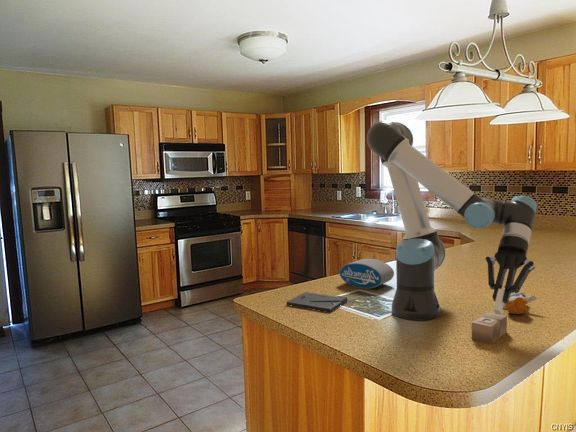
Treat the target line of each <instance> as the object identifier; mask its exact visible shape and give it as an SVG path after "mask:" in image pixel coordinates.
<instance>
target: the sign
mask: <svg viewBox="0 0 576 432" xmlns="http://www.w3.org/2000/svg"><path fill="white" fill-rule="evenodd" d="M338 274H339V276H340V279H342V280H343V281H344V282H345V283H346V284H348V285H350V286H352V287H355V288H358V289H359V288H361V289H364V288H365V289H375V288H378V287H380V286H382V285H383V284H385V283H387V282H390V281H391V280H392V279H393V278H394V276H395V270H394V269H393V268H392V267H391V265H389V264H388V263H386V262H385V261H381V260H380V259H375V258H362V259H358V260H355V261H353V262H350V263H346V264H345V265H343V266H342V267H340V268H339V273H338Z"/></svg>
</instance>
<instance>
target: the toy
mask: <svg viewBox="0 0 576 432" xmlns="http://www.w3.org/2000/svg"><path fill="white" fill-rule="evenodd" d="M536 300H538V297H537V296H536V295H534V294H532V295H530V296H526V294H525V292H524V291H519V292H518V293H511V294H510V297H509V301H508V303H504V305H503V309H504V308H506V309H505V310H506V311H507V313H509V314H514V315H522V314H524V313H525V312H527V313H528V314H529V313H530V312H529V309H528V306H527V305H528V304H529V303H531V302H535V301H536Z"/></svg>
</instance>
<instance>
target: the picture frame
mask: <svg viewBox="0 0 576 432" xmlns="http://www.w3.org/2000/svg"><path fill="white" fill-rule="evenodd" d="M347 301H348V297H347V296H341V295H335V296H334V295H330V294H321V293H314V292H308V291H307V292H306V291H305V292H302V293H300V294H299V295H297V296H295V297H293V298H291V299H289V300H288V301H286V306H287V305H292V306H291V307H293V306H298V307H297V308H299V307H303V308H302V309H305V308H310V309H309V310H311V309H315V310H314V311H317V310H320V311H319V312H323V311H326V312H325V313H329V312H331V313H333V312H334V311H336V310H337V309H339V308H340V307H341V306H340V305H342V304H343V305H344V303H345V302H346V303H347ZM348 302H349V301H348ZM346 303H345V304H346ZM343 305H342V306H343ZM339 306H340V307H339ZM338 307H339V308H338ZM336 308H337V309H336ZM335 309H336V310H335ZM333 310H334V311H333ZM332 311H333V312H332Z"/></svg>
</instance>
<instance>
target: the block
mask: <svg viewBox="0 0 576 432" xmlns="http://www.w3.org/2000/svg"><path fill="white" fill-rule="evenodd" d="M507 322H508V316H507V315H505V314H501V315H500V314H495V312H491V311H487V312H486V313H484V314H482V315H481V316H480V317H478V318H476V319H474V320H473V321H472V322H471V340H473V341H477V342H479V343H480V342H481V343H484V344H488V345H492V344H494V343H495V342H496V341H498V340H499V338H501V337H503V336H504V335H505V334H507V330H508V329H507V327H508V323H507Z"/></svg>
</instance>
